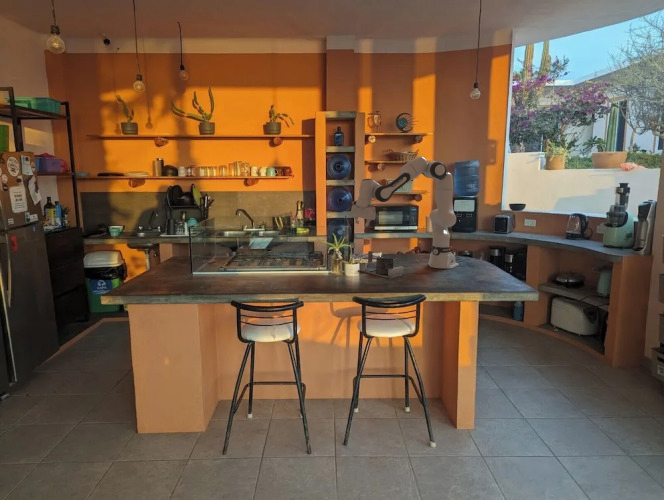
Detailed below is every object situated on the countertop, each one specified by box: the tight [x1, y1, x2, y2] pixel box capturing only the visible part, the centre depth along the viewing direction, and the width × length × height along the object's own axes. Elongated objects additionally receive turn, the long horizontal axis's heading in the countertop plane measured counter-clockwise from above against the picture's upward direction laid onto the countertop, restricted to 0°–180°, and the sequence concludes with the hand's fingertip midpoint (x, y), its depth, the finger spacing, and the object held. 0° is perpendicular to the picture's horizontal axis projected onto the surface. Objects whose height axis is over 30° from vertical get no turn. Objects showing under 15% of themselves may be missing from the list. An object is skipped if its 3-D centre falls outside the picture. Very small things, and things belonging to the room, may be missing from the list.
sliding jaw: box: [364, 250, 377, 272], centre depth 290 cm, size 12×4×12 cm, turn 133°
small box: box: [375, 256, 394, 276], centre depth 282 cm, size 11×6×10 cm, turn 84°
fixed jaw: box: [359, 265, 405, 279], centre depth 285 cm, size 16×26×6 cm, turn 43°
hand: (361, 224), depth 290 cm, fingers open, 8 cm apart
